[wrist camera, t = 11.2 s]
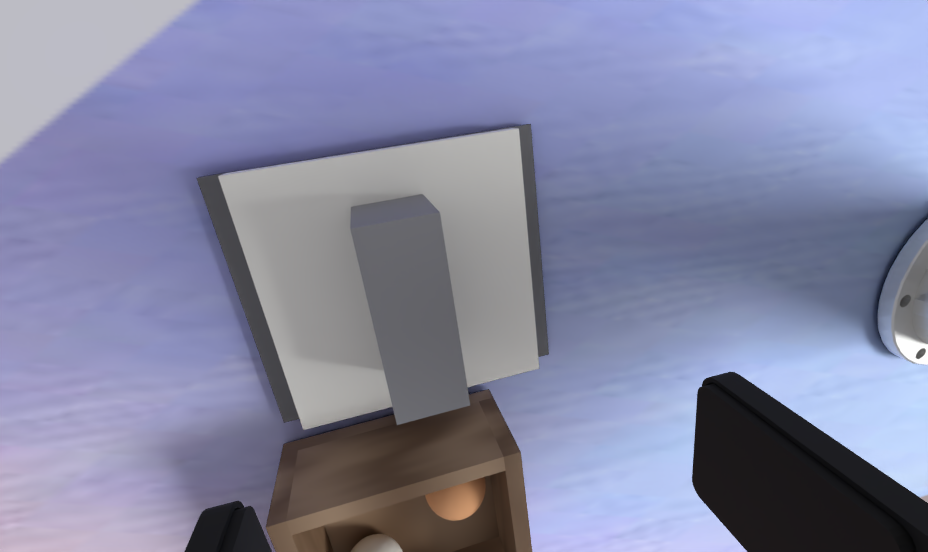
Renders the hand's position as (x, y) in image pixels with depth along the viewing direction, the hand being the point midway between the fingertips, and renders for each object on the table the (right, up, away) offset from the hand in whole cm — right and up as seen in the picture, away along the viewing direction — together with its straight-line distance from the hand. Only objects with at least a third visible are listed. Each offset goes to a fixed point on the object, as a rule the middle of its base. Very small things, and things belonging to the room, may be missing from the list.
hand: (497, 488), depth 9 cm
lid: (-4, +4, +12) cm, 13 cm away
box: (-4, -8, +16) cm, 19 cm away
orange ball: (-1, -7, +14) cm, 15 cm away
